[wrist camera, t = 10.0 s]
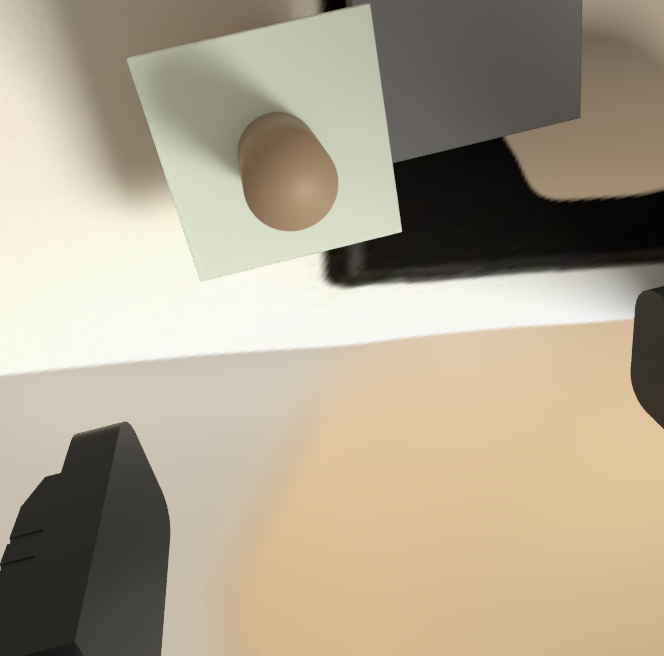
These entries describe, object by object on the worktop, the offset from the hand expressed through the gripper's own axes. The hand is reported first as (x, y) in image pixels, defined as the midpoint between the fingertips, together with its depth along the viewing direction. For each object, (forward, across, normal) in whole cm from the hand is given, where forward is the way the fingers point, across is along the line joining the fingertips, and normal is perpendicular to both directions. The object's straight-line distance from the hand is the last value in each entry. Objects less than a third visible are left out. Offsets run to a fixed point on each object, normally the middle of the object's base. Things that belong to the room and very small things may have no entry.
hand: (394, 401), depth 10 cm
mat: (+22, -9, -2) cm, 24 cm away
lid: (+18, 0, 0) cm, 18 cm away
